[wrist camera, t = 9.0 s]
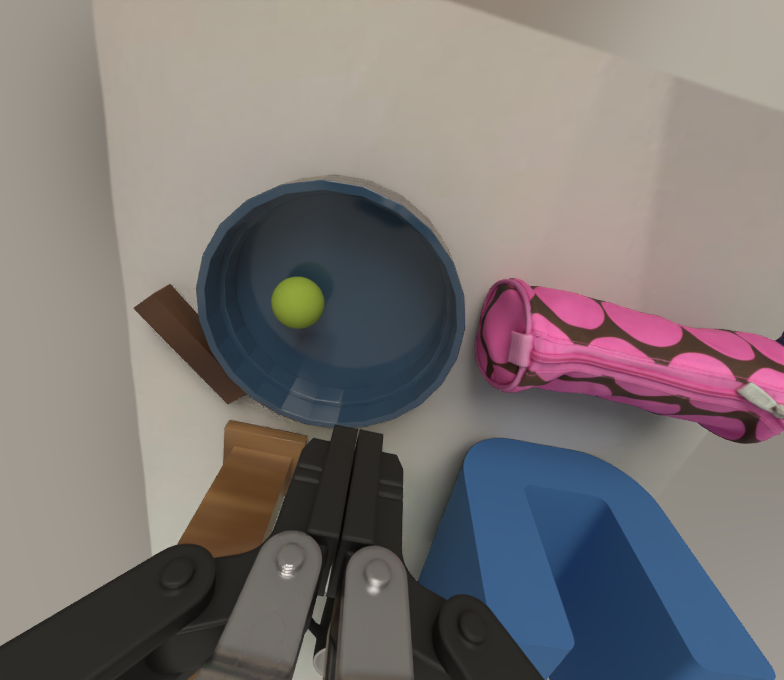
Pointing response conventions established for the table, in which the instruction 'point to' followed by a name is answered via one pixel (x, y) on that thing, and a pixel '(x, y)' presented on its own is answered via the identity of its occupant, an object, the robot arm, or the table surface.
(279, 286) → the grape
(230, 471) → the stand
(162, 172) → the table surface
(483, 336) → the pencil case
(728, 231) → the table surface
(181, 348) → the stick
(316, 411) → the bowl
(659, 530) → the block
